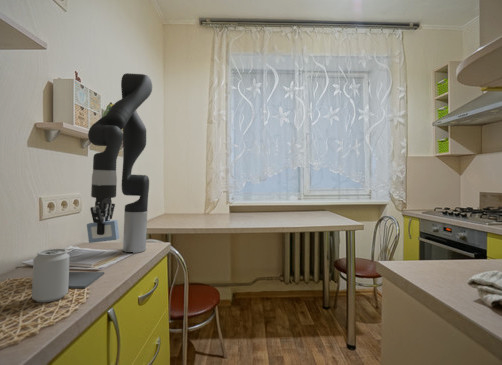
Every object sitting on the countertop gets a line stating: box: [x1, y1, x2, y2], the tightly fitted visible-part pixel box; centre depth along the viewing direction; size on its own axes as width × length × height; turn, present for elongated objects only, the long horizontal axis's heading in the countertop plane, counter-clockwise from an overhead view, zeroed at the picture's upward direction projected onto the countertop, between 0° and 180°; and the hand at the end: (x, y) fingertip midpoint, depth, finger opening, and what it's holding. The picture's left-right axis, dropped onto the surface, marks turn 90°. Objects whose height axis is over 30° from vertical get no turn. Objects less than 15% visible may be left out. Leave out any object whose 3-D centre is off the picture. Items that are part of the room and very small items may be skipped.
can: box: [31, 248, 71, 303], centre depth 69 cm, size 8×8×12 cm
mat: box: [68, 271, 105, 289], centre depth 80 cm, size 12×14×1 cm
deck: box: [86, 219, 120, 244], centre depth 92 cm, size 2×9×6 cm, turn 96°
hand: (102, 233), depth 92 cm, fingers closed on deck, 2 cm apart
